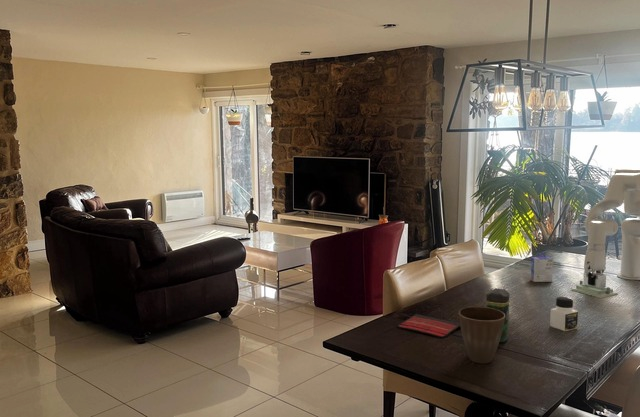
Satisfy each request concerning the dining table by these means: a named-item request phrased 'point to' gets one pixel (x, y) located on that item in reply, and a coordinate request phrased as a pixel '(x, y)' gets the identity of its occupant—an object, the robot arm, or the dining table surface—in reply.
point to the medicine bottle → (564, 314)
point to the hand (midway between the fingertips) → (594, 284)
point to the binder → (429, 326)
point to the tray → (594, 290)
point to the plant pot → (481, 332)
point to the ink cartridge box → (541, 268)
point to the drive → (596, 280)
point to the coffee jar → (500, 307)
